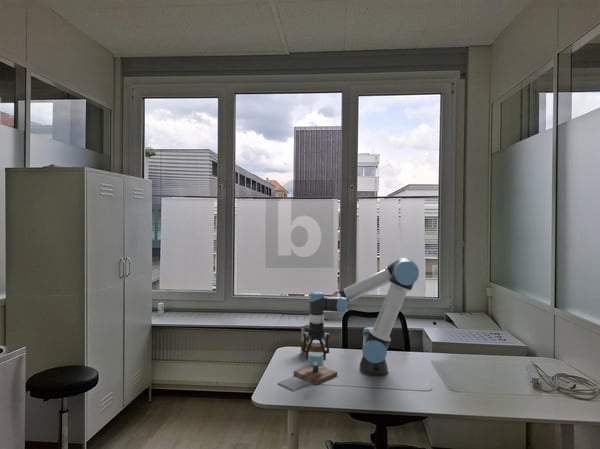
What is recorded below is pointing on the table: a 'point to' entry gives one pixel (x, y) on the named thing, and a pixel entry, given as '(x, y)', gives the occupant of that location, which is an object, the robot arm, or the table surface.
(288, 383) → the mat
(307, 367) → the brown square board
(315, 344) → the disposable coffee cup
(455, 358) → the table surface
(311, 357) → the teal matte cube
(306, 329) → the coffee box
